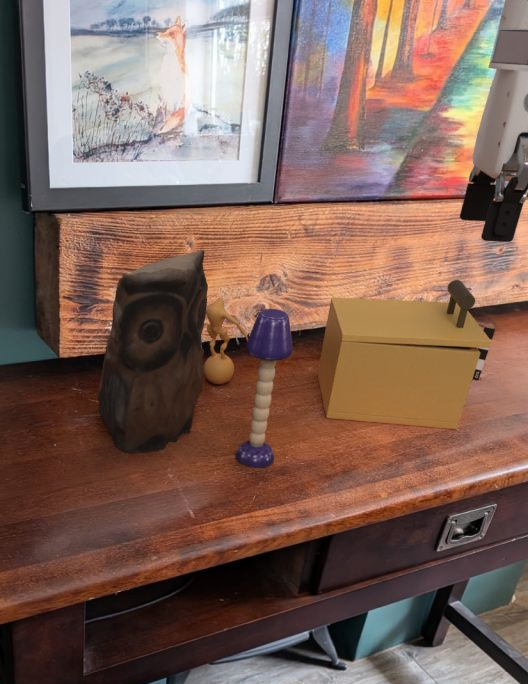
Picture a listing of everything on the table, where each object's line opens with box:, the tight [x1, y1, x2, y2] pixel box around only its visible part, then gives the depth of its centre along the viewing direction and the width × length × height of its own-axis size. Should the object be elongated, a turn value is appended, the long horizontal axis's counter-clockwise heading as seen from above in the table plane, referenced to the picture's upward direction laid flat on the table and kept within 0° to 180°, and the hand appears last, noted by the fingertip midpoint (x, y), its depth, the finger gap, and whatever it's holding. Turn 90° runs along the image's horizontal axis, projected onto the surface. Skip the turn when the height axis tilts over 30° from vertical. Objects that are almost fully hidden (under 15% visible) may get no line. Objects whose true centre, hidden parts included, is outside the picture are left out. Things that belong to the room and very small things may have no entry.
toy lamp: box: [235, 308, 293, 469], centre depth 78 cm, size 5×5×17 cm
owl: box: [96, 249, 209, 455], centre depth 81 cm, size 13×13×20 cm
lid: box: [330, 279, 492, 349], centre depth 90 cm, size 17×14×5 cm
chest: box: [317, 303, 480, 430], centre depth 94 cm, size 16×14×10 cm
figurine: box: [203, 296, 249, 385], centre depth 95 cm, size 8×6×12 cm
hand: (484, 229), depth 84 cm, fingers open, 9 cm apart
